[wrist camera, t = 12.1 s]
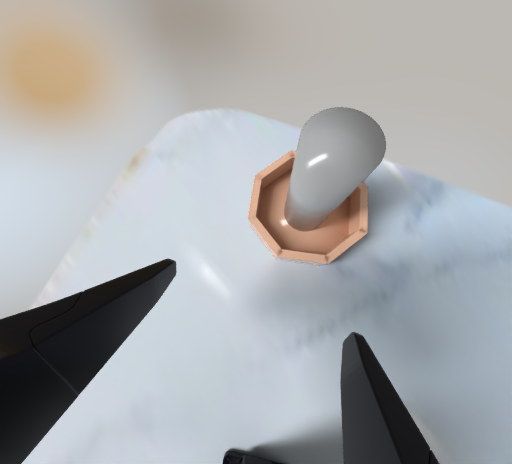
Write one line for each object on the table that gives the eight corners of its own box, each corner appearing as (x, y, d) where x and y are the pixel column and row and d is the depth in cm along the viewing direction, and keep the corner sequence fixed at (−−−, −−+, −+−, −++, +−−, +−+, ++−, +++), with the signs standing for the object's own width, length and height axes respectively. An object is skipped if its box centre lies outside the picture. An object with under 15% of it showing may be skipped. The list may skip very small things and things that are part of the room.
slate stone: (331, 224, 23) (401, 164, 11) (291, 236, 23) (317, 190, 11) (315, 188, 24) (363, 97, 12) (278, 200, 24) (287, 121, 12)
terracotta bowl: (351, 270, 22) (366, 269, 19) (246, 255, 23) (242, 251, 20) (354, 174, 25) (368, 157, 21) (260, 164, 26) (259, 147, 23)
